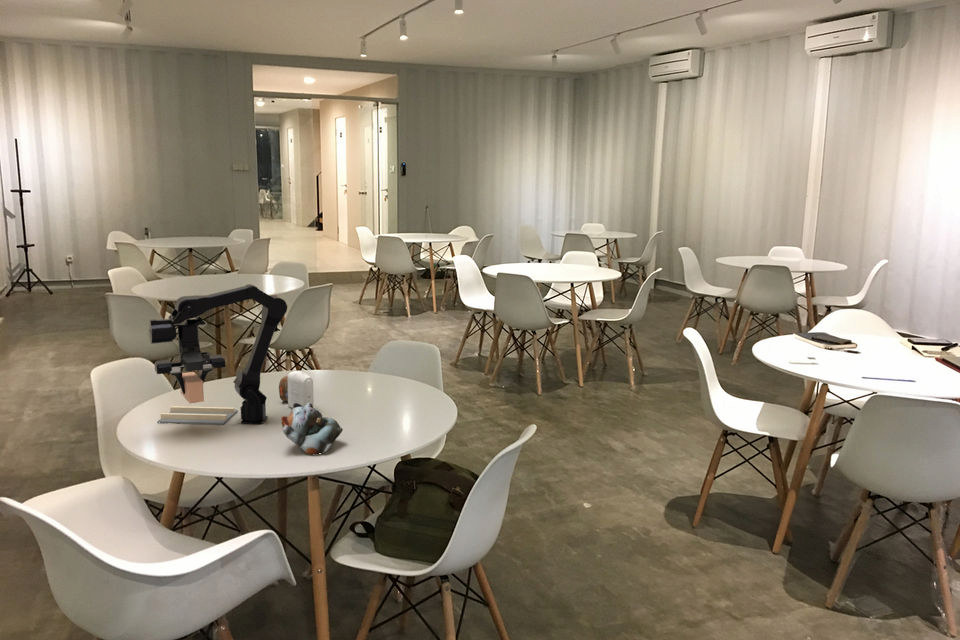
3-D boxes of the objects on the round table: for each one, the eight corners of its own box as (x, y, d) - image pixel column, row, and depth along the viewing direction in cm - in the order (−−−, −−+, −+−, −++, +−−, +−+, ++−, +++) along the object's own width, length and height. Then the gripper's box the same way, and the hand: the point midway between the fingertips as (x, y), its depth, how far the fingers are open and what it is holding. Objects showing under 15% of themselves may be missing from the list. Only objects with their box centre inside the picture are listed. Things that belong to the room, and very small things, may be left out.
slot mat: (237, 411, 242) (237, 405, 242) (223, 424, 229) (223, 418, 229) (175, 410, 242) (174, 403, 242) (157, 423, 230) (156, 416, 229)
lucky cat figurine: (320, 459, 203) (293, 415, 200) (291, 466, 210) (264, 425, 207) (351, 428, 215) (326, 387, 212) (322, 436, 222) (298, 396, 219)
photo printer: (315, 411, 244) (314, 373, 242) (304, 414, 241) (303, 376, 239) (297, 404, 251) (296, 367, 249) (286, 406, 248) (285, 370, 246)
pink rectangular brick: (194, 391, 229) (193, 371, 228) (204, 401, 219) (202, 381, 218) (180, 393, 227) (179, 373, 226) (189, 403, 217) (188, 383, 216)
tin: (286, 404, 251) (285, 380, 249) (277, 404, 251) (276, 379, 250) (305, 392, 265) (305, 369, 264) (297, 391, 266) (296, 368, 264)
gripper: (157, 349, 208) (161, 404, 211) (228, 342, 218) (230, 395, 220) (152, 341, 218) (156, 394, 221) (220, 335, 227) (222, 386, 230)
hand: (191, 392), depth 223 cm, fingers closed on pink rectangular brick, 4 cm apart
